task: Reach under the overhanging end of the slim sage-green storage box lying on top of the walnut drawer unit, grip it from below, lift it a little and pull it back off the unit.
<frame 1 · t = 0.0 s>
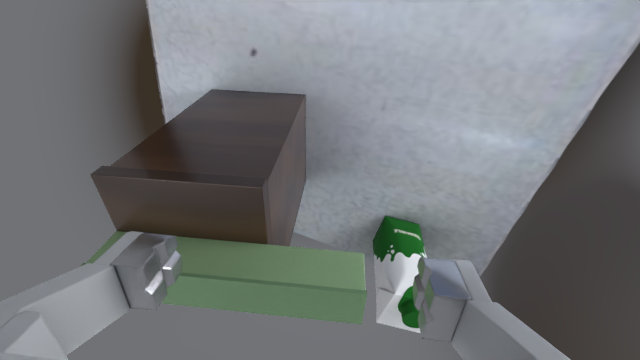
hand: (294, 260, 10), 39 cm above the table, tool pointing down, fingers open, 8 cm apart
milk carton: (394, 232, 60), on the table
drawer unit: (262, 138, 51), on the table
storage box: (239, 256, 29), point 26 cm above the table, touching drawer unit
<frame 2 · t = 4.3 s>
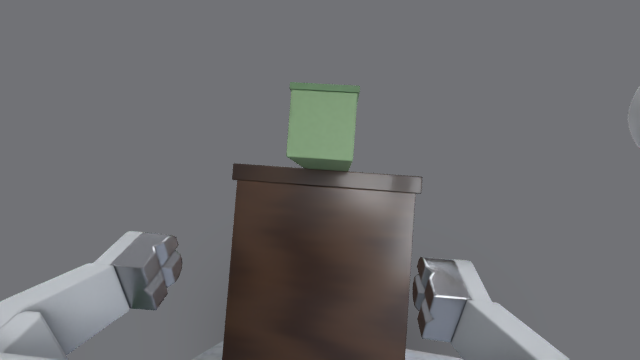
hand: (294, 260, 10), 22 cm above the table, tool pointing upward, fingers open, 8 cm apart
storage box: (327, 172, 30), point 26 cm above the table, touching drawer unit
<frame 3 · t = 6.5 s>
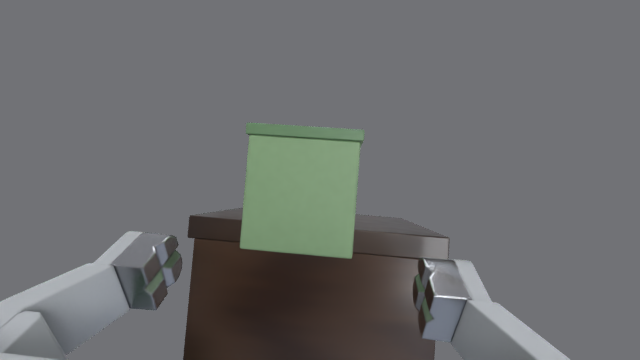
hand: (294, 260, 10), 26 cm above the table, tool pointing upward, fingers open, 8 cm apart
storage box: (318, 221, 22), point 26 cm above the table, touching drawer unit
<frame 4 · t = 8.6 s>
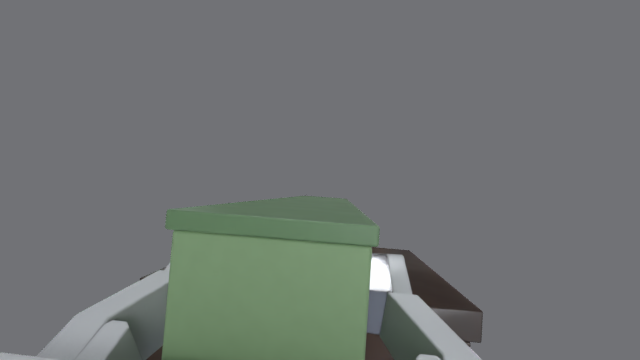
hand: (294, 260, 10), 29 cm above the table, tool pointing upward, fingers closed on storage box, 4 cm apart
storage box: (311, 276, 18), point 26 cm above the table, touching drawer unit, gripper
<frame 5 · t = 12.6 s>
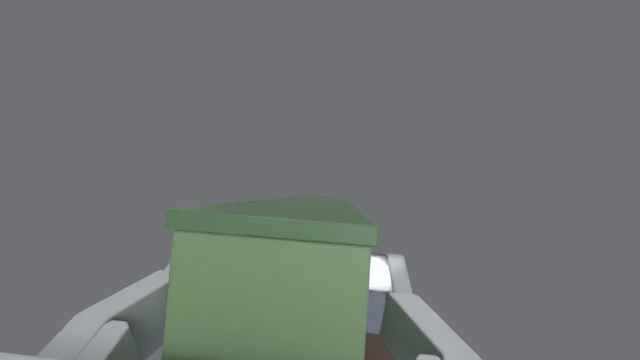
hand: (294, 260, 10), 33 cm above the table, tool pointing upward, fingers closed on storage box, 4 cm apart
storage box: (311, 276, 18), point 30 cm above the table, touching gripper
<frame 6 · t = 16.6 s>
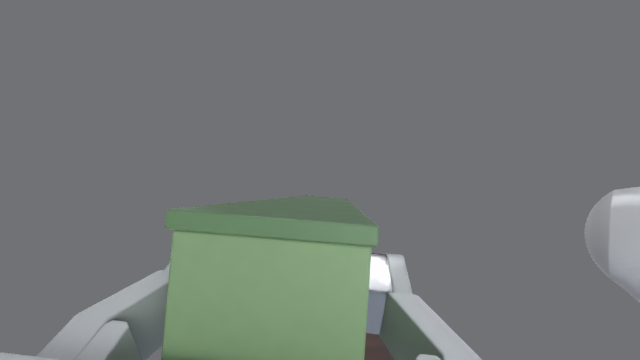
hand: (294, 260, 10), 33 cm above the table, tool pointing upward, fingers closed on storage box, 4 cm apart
storage box: (311, 276, 18), point 31 cm above the table, touching gripper
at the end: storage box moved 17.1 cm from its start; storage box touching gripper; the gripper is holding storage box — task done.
